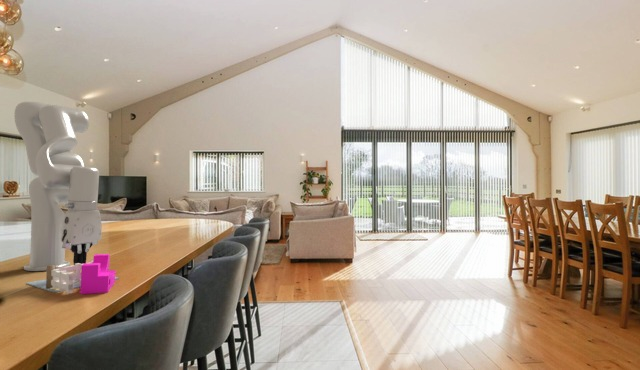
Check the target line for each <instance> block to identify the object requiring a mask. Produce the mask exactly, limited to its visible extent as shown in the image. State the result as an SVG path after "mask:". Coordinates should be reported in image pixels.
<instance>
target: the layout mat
mask: <svg viewBox="0 0 640 370" xmlns="http://www.w3.org/2000/svg"><path fill="white" fill-rule="evenodd" d="M116 280H120V277H117V276H115V281H116ZM25 283H26V284H25V285H29V286H31V285H32V287H35V288H38V289H42V290H45V291H47V292H50V293H54V294H56V293H60V292H61V291H59V289H52V288H50V289H47V288H46V279H41V280H40V279H39V280H34V281H28V282H25ZM78 288H79V289H80V288H81V278H80V281H74V280H73V290H74V289H78Z"/></svg>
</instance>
